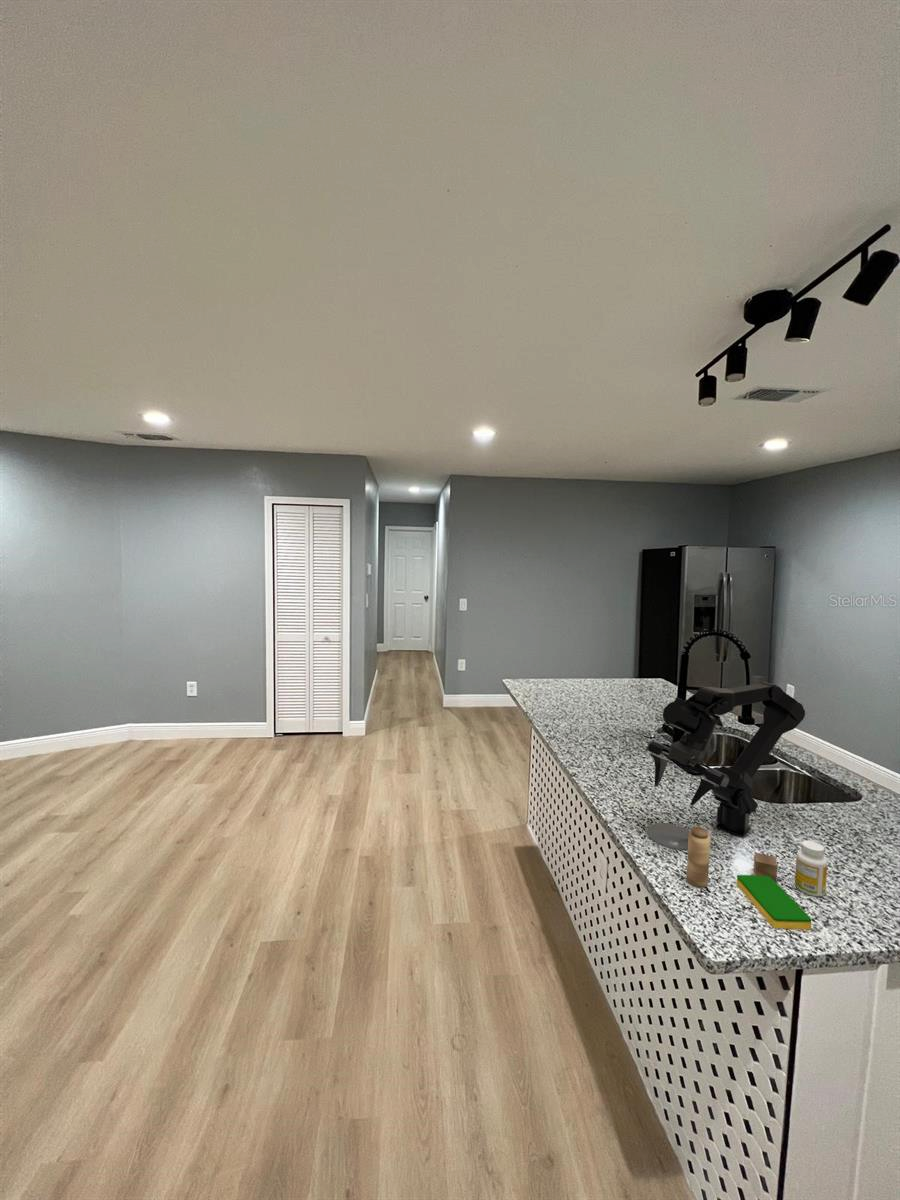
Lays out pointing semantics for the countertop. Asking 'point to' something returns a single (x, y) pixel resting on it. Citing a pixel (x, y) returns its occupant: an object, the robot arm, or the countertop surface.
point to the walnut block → (765, 865)
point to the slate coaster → (669, 835)
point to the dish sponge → (773, 902)
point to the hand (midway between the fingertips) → (673, 795)
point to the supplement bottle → (811, 869)
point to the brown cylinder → (698, 857)
